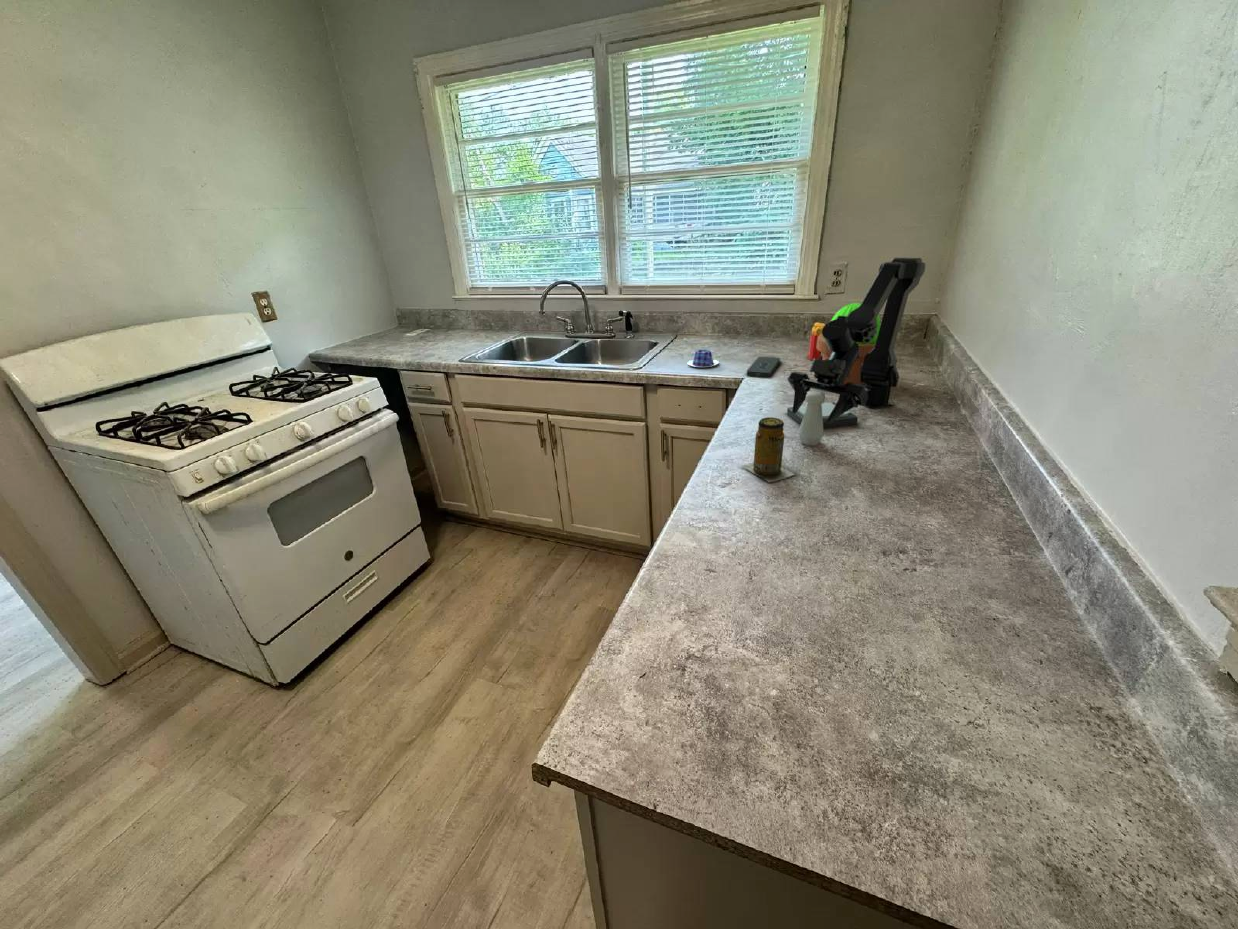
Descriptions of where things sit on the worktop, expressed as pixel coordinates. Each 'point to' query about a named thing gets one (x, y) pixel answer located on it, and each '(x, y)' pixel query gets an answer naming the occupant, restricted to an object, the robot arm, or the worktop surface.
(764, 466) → the condiment
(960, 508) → the worktop surface
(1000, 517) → the worktop surface
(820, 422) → the salt shaker
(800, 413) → the kitchen scale
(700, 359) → the pudding
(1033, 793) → the worktop surface
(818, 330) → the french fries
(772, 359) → the smart home device
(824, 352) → the potted cactus
